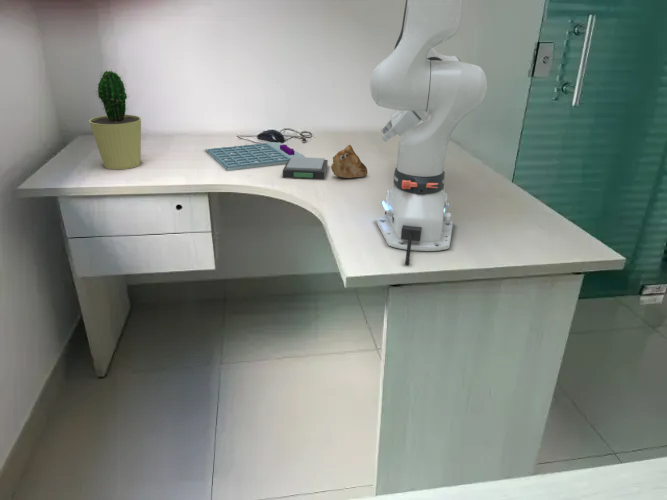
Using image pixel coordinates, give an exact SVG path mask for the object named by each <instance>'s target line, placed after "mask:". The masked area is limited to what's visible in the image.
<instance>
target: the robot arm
mask: <svg viewBox="0 0 667 500" xmlns="http://www.w3.org/2000/svg"><path fill="white" fill-rule="evenodd" d="M463 5H464V0H405V4H404V10H403V17H402V21H401V23H402V24H401V28H400V33H399V35H398V38H397V40H396V43H395V45H394V49H393V51H392V52H391V53H390V54H389V55H388V56H387V57H386V58H384V59H383V60H381V62H379V63H378V64H377V65H376V66H375V68H374V69H373V71H372V73H371V75H370V79H369V91H370V95H371V97H372V100H373V101H374V102H375V104H376V105H377V106H379V107H382V108H386V109H389V110H393V111H392V112H391V114H390V119H389V120H388V121H387V123H386V124H385V125H384V126H383V127H382V128H381V132H382V136H381V140H383V142H388V141H389V140H390V139H392V138H393V137H395V136H396V135H397V136H399V139H398V146H397V160H396V167H395V168H394V173H393V185H392V187H390V188H389V189H388V190H386V197H385V201H384V200H382V206H383V208H384V216H380V217H378V218H377V219H376V225H377V226H378V228H379V230H380V232H381V234H382V236H383V238H384V240H385V242H386V244H387V245H388V246H389V247H391V248H395V249H400V250H406V255H405V261H404V264H405V265H409V263H410V257H411V251H416V252H417V251H419V252H438V251H445V250H448V249H450V247H451V240H452V235H453V233H452V232H453V225H454V223H453V221H451V220H452V212H446V210H447V209H450V202H447V201H448V193H447V191H445V190H444V188H445V180H446V177H445V176H446V175H445V174H446V173H445V170H444V167H445V160H446V155H447V149H448V145H449V141H450V138H451V136H452V134H453V132H454V130H455V129H456V127H457V126H458V125H459V124H460V122H461V121H462V120H463V119H464V118H465V117H466V116H468V115H469V114H470V113H472V112H473V111H475V110H476V109H478V108H479V107H480V106H481V104H482V103H483V102H484V100H485V98H486V95H487V92H488V78H487V75H486V72H485V71H484V69H483V68H482V66H480V65H476V64H473V63H469V62H465V61H462V60H460V58H459V57H458V56H456V55H446V54H442V53H440V52H438V51H437V50H436V49H435V48H434V47H436V46H438V45H440V44H443V43H444V42H447V41H448V40H450V39H452V38H453V37H454V36H455V35H456V34H457V33H458V31H459V29H460V27H461V22H462V13H463ZM421 121H422V122H421ZM420 122H421V123H420Z"/></svg>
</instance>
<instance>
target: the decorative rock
mask: <svg viewBox="0 0 667 500" xmlns="http://www.w3.org/2000/svg"><path fill="white" fill-rule="evenodd" d="M330 168H331V171H332V174H333V175H334V176H336V177H338V178H343V179H352V178H364V177H366V176H367V175H368V168H367V166H366V165H365V163H363V162H362V161H361V159H360V157H359V156H358V154H357V153H356V152H355V150H354V149H353V147H352V145H351V144H348V145H346V147H345V148H344V149H341V150H340V151H338V152H337V153H336V154H335V155H334V156H332V163H331V166H330Z"/></svg>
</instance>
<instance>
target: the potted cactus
mask: <svg viewBox="0 0 667 500" xmlns="http://www.w3.org/2000/svg"><path fill="white" fill-rule="evenodd" d="M100 73H102V74H100V75H99V77H100V78H99V82H98V83H97V84H95V85H97V90H94V91H93V93H96V97H97V99H98V100H101V101H100V103H99V104H100V105H102V106H103V108H102V111H105V112H104V113H105V115H101V116H96V117H92V118H90V119H89V120H88V122H89V123H90V124H89V125H90V128H91V130H92V134H93V137H94V140H95V143H96V146H97V149H98V152H99V155H100V158H101V161H102V164H103V166H104V168H105V169H109V170H126V169H128V170H129V169H132V168H136V167H138V166H140V165H141V160H142V159H141V156H142V155H141V154H142V153H141V152H142V151H141V149H142V147H141V146H142V118H141V117H140V116H139V115H133V114H127V113H126V111H129V109H128V110H127V108H129V106H127V101H128V99H129V98H130V97H131V95H129V93H128V91H127V89H126V87H127V86H126V84H125V83H124V80H122V76H121V73H120V74H118V73H117V72H116V71H112V68H111V69H110V70H104V71H102V70H101V72H100ZM127 93H128V94H127ZM126 100H127V101H126Z"/></svg>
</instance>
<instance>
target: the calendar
mask: <svg viewBox="0 0 667 500" xmlns="http://www.w3.org/2000/svg"><path fill="white" fill-rule="evenodd" d="M205 151H206V152H207V153H208V154H209V155H210V156H211V157H212V158H213V159H214V160H215V161H216V162H217V163H219V164H220V165H221V166H222V168H224V169H225V170H226V171H235V170H245V169H252V168H253V169H254V168H262V167H269V166H270V167H271V166H277V165H278V166H279V165H286V163H287V161H288V160H289V158H291V157H305V155H302V154H301V153H299V152H298V151H296V150H294V148H291V147H289V146H288V144H284V143H283V142H280V141H278V142H275V141H271V142H264V143H254V144H244V145H234V146H222V147H213V148H205Z"/></svg>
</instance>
